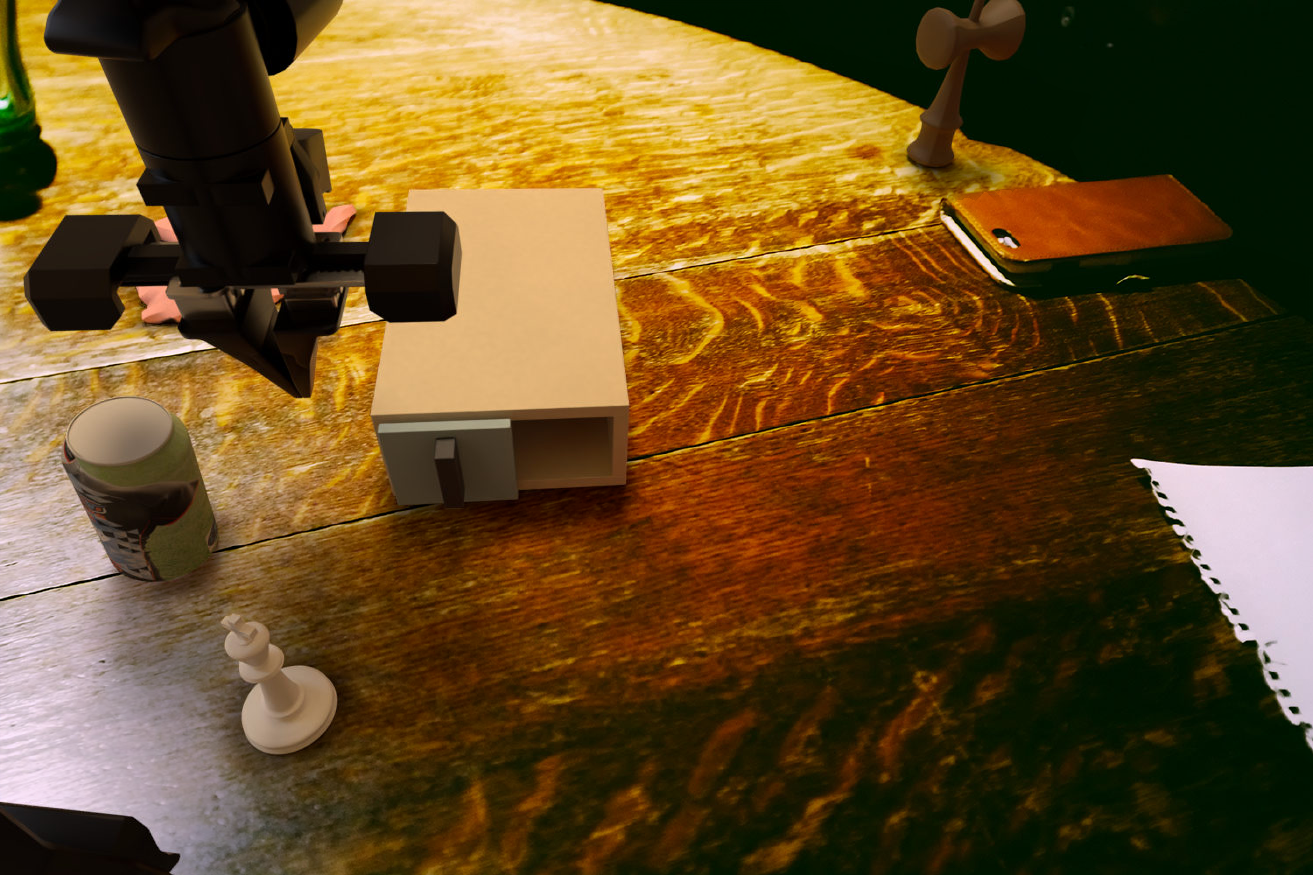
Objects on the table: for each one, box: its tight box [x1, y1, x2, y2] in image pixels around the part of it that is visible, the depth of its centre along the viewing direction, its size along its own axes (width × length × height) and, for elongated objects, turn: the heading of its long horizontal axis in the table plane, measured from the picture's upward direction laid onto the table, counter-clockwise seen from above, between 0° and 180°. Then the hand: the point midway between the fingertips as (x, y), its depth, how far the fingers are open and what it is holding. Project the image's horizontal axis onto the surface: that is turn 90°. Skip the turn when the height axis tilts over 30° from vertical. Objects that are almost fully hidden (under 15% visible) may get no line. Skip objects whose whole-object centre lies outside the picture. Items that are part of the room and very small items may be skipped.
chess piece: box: [220, 612, 338, 755], centre depth 42 cm, size 5×5×10 cm
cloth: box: [135, 203, 358, 325], centre depth 74 cm, size 20×22×2 cm
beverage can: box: [60, 395, 219, 583], centre depth 48 cm, size 6×7×12 cm
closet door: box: [378, 419, 519, 510], centre depth 53 cm, size 3×8×7 cm, turn 96°
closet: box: [370, 187, 630, 497], centre depth 63 cm, size 26×16×8 cm, turn 6°
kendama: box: [906, 0, 1026, 168], centre depth 85 cm, size 6×10×20 cm, turn 117°
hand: (305, 392), depth 46 cm, fingers closed
